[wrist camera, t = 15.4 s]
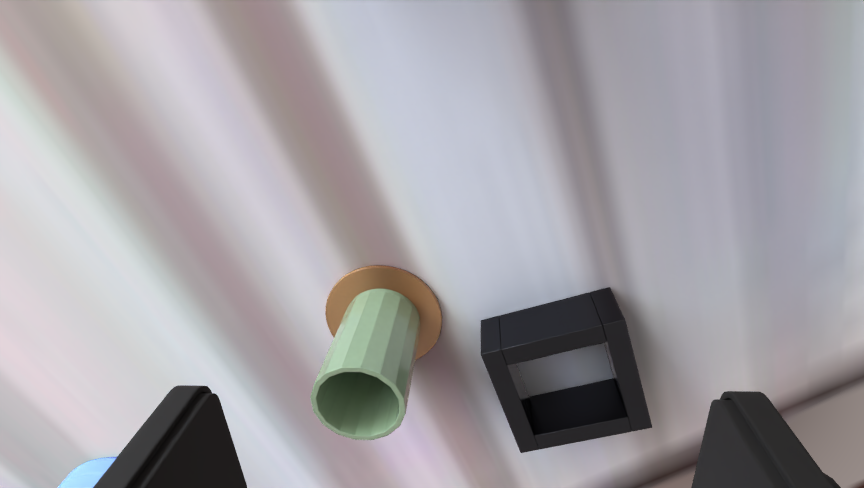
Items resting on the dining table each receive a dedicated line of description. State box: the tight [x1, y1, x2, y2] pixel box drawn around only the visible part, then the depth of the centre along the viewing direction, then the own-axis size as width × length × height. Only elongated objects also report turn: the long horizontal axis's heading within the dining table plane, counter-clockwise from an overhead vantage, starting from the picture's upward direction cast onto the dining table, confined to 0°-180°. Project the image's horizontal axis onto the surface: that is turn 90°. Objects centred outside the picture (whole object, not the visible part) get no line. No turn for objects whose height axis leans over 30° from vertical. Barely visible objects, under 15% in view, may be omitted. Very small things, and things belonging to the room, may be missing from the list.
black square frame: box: [481, 287, 652, 453], centre depth 41 cm, size 11×11×5 cm
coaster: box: [326, 265, 442, 360], centre depth 42 cm, size 10×10×1 cm
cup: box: [310, 289, 421, 440], centre depth 38 cm, size 6×6×10 cm
